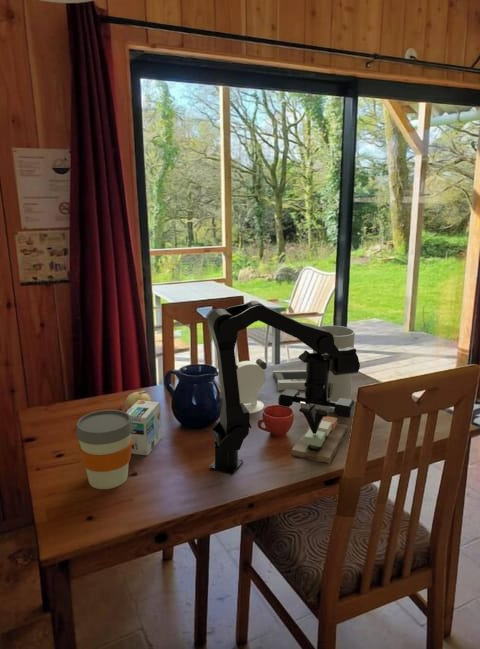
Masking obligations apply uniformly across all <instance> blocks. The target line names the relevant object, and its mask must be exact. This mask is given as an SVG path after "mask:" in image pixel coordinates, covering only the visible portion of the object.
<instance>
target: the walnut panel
mask: <svg viewBox="0 0 480 649" xmlns="http://www.w3.org/2000/svg"><path fill="white" fill-rule="evenodd" d="M309 429H311V428H310V426H309V425H308V426H307V428H306V429H305V430H304V431H303V433H302V435H301V436H300V437H299V439H298V441H297V442H296V443H295V445H294V446H293V448H292V449H291V456H295V457H300V458H304V459H309V460H313V461H317V462H322V463H327V464H330V463H331V461H332V460H333V457H334V456H335V454H336V452H337V450H338V448H339V446H340V445H341V443H342V441H343V439H344V438H345V436H346V434H347V432H348V425H347V424H341V423H337V425H336V427H335V429H334V430H333V431H330V432H329V434H328V435H327V436H326V437H325V440H324V442H323V444H322V445H321V447H319V448H317V449H313V448H311V447H310V445H309V444H305V443H304V436H305V434H306V433H307V432H308V430H309ZM311 449H312V450H311Z"/></svg>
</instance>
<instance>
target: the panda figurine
mask: <svg viewBox="0 0 480 649" xmlns="http://www.w3.org/2000/svg"><path fill="white" fill-rule="evenodd" d="M267 368H268V364H267V363H266V362H265V361H264V360H263V359H261V358H257V359H256V360H255V361H252V360H242V361H238V362H236V369H237V378H238V387H239V396H240V404H241V403H243V404H244V405H245V407H246V408H247V410H248V411H249V413H250V415H253V414H256V413H259V412H262V411H263V410H264V409H265V404H264V403H263V402H262V401H261V400H258V397H259V391H260V390H261V389H262V387H263V386H264V384H265V383H266V379H267V378H266V376H267V375H266V373H265V371H264V370H266V369H267Z"/></svg>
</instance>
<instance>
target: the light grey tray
mask: <svg viewBox="0 0 480 649" xmlns="http://www.w3.org/2000/svg"><path fill="white" fill-rule="evenodd" d="M272 377H273V378H274V379H275V380H276V384H277V385H276V386H277V390H278V391H284V390H285V389H293V390H298V391H303V390H305V386H304V385H305V382H306V369H302V370H300V369H299V370H298V369H297V370H296V369H295V370H272Z"/></svg>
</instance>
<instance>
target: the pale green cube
mask: <svg viewBox="0 0 480 649" xmlns="http://www.w3.org/2000/svg"><path fill="white" fill-rule="evenodd" d="M324 441H326V440H325V432H321V431H317V433H316V434H313V433H312V430H311V429H309V430H308V432H307V433H306V434H305V436H304V443H305V444H309V445H310V447H311V448H313V449H312V450H315V449H317V448H319V447H321V445H322V444H323V442H324Z"/></svg>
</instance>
